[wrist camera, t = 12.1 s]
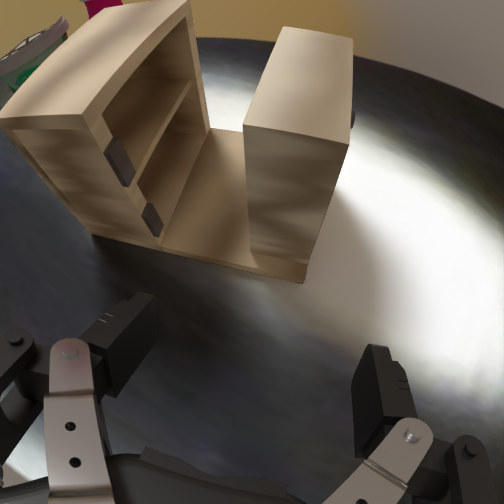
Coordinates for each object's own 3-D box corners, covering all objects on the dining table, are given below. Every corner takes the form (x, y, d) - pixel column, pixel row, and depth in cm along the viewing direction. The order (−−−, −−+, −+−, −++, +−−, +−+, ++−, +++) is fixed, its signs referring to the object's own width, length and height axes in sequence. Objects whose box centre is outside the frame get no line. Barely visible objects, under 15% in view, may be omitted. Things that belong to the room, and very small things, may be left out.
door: (250, 252, 22) (242, 124, 11) (276, 154, 26) (283, 26, 15) (321, 267, 22) (374, 150, 11) (335, 166, 25) (370, 43, 14)
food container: (17, 129, 31) (-17, 78, 22) (16, 109, 33) (-14, 62, 24) (94, 80, 34) (70, 20, 24) (85, 64, 36) (64, 12, 27)
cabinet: (91, 233, 24) (-6, 118, 11) (145, 128, 29) (104, 8, 16) (302, 283, 22) (355, 147, 10) (325, 155, 27) (356, 13, 14)
